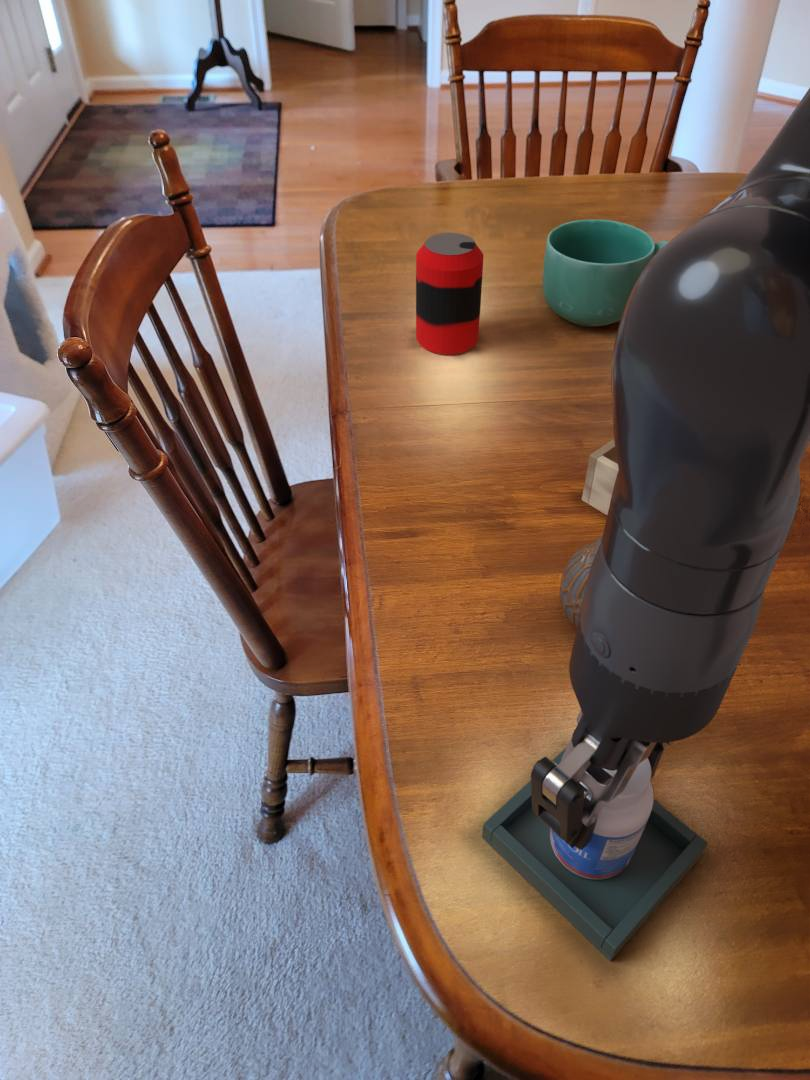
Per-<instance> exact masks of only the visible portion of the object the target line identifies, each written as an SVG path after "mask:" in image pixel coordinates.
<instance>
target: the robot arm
mask: <svg viewBox="0 0 810 1080" xmlns="http://www.w3.org/2000/svg"><path fill="white" fill-rule="evenodd" d="M669 241H670V242H668V243H667V244H666V245H665V246H663V247H662V248H661V249H660V250H659V251H658V252H657V253H656V255H655V256H654V257H653V258H652V259H651V260H650V262H649V263H648V264H647V265H646V267H645V268H644V270H643V271H642V273H641V274H640V276H639V278H638V279H637V281H636V283H635V285H634V287H633V289H632V291H631V294H630V296H629V298H628V301H627V303H626V306H625V309H624V311H623V315H622V318H621V321H619V324H618V328H617V332H616V336H615V340H614V345H613V352H612V358H611V368H610V369H611V371H610V372H611V376H610V379H611V380H610V385H611V386H610V387H611V388H610V389H611V403H612V404H611V405H612V423H613V424H612V425H613V439H614V443H615V451H616V457H617V463H618V469H619V471H618V474H617V477H616V481H615V484H614V488H613V493H612V497H611V501H610V506H609V510H608V515H606V519H605V525H604V528H603V532H602V533H603V534H602V535H603V537H602V540H601V544H600V546H599V549H598V551H597V553H596V555H595V557H594V560H593V562H592V565H591V568H590V572H589V575H588V579H587V583H586V588H585V592H584V597H583V602H582V606H581V611H580V616H579V620H578V625H577V628H576V630H575V635H574V640H573V645H572V649H571V654H570V657H569V658H570V659H569V666H568V670H569V671H568V672H569V679H570V683H571V687H572V690H573V693H574V695H575V697H576V700H577V703H578V706H579V707H580V710H579V712H578V715H577V717H576V723H577V724H576V727H575V728H574V731H573V732H572V736H571V738H570V740H569V742H568V744H567V746H566V747H567V748H566V747H565V748H566V750H565V752H564V754H563V756H562V758H561V762H560V763H559V764H557V763H555V762H554V761H552V760H550V758H549V757H547V756H544V757H542V758H540V760H537V761H536V762H535V763H534V765H533V767H532V770H531V772H530V780H531V791H532V811H533V812H534V813H535V814H536V815H537V816H538V817H539V818H541V819H542V820H543V821H544V822H545V823H546V824H547V825H548V826H549V827H551V828H552V830H553V831H554V832H555V833H556V834H557V835H558V836H559V837H560V838H561V839H562V840H564V841H565V842H566V843H567V844H568V845H569V846H570V847H571V848H573V847H574V846H575V847H576V848H578V849H580V850H582V849H583V848H584V847H585V846H586V845H587V844H588V843H589V842H590V841H591V838H592V835H593V831H594V828H595V825H596V822H597V819H598V817H599V813H600V812H601V810H602V808H603V806H604V805H605V803H606V802H610V801H611V800H613V799H614V798H615V797H617V796H618V795H619V794H621V793H622V792H623V790H624V789H625V787H626V785H627V783H628V782H629V780H630V778H631V776H632V775H633V773H634V771H635V769H636V768H637V766H638V764H640V763H641V762H642V761H644V760H645V759H647V758H648V760H649V762H650V765H651V779H650V781H651V780H652V779H653V778H654V776H655V774H656V771H657V768H658V767H659V763H660V762H661V759H662V756H663V753H664V751H665V750H666V749H667V748H668V747H671V746H672V745H673V744H674V743H675V742H678V741H681V740H684V739H687V738H690V737H692V736H694V735H696V734H698V733H699V732H701V731H703V729H705V728H706V727H707V726H708V725H709V724H710V723H711V722H712V721H713V719H714V718H715V716H716V715H717V713H718V711H719V709H720V707H721V704H722V702H723V700H724V698H725V696H726V694H727V691H728V689H729V687H730V684H731V682H732V680H733V677H734V675H735V673H736V671H737V669H738V666H739V665H740V662H741V659H742V657H743V655H744V654H745V653H744V652H745V650H746V648H747V646H748V643H749V641H750V639H751V637H752V635H753V633H754V630H755V627H756V625H757V622H758V619H759V615H760V611H761V607H762V602H763V598H764V595H765V594H764V592H765V590H766V587H767V585H768V583H769V582H768V581H769V579H770V577H771V574H772V573H773V570H774V569H775V568H774V567H775V565H776V564H777V561H778V560H779V559H778V558H779V557H780V554H781V552H782V549H783V548H784V545H785V543H786V541H787V540H788V536H789V534H790V531H791V529H792V526H793V523H794V520H795V517H796V514H797V511H798V506H799V501H800V494H801V490H802V485H801V476H800V475H801V474H800V470H799V467H800V465H801V462H802V460H803V457H804V455H805V452H806V450H807V448H808V447H809V444H810V87H809V88H808V89H807V91H806V92H805V94H804V95H803V96H802V98H801V100H800V101H799V103H798V104H797V105H796V106H795V108H794V110H793V111H792V113H791V114H790V116H789V117H788V119H787V120H786V121H785V123H784V124H783V126H782V128H781V129H780V131H778V133H777V135H776V136H775V138H774V139H773V141H772V142H771V143H770V144H769V145H768V147H767V149H766V150H765V152H764V153H763V154H762V155H761V157H760V158H759V160H758V161H757V162H756V163H755V164H754V166H753V167H752V169H751V170H749V173H747V174H746V176H745V177H744V178H743V179H742V180H741V182H740V183H739V184H738V185H737V187H736V188H734V190H733V191H732V192H731V193H730V194H729V196H727V197H726V198H725V199H724V200H722V201H721V202H720V203H719V204H717V205H716V206H715V207H713V208H712V209H711V210H709V211H708V212H707V213H705V214H704V215H703V216H702V217H700V218H699V219H697V220H696V221H695V222H693V223H692V224H691V225H689V226H688V227H686V228H685V229H684V230H683V231H681V232H680V233H678V234H677V235H675V236H674V237H673V238H672V239H671V240H669ZM603 768H604V769H607V770H611V771H615V770H617V771H616V773H615V775H614V777H613V776H611V775H610V774H609V773H607V772H606V771H605V770H604V769H603ZM580 782H582V783H583V784H584V785H586V786H587V787H588V788H589V789H590V790H591V791H592V794H593V796H592V798H591V800H589V799H588V798H587V796H588V794H589V790H587V789H586V788H585V787H584V786H583V785H581V784H580Z"/></svg>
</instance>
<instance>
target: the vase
mask: <svg viewBox="0 0 810 1080" xmlns="http://www.w3.org/2000/svg"><path fill="white" fill-rule="evenodd" d="M602 537H603V534H601V535H600V536H599V537H598V539H597V540H594V541H592V542H590V543H587V544H584V545H583V546H582V547H580V548H579V549H578V550H577V551H576V552H574V554H573V555H572V556H571V558H569V560H568V561H567V563H566V565H565V567H564V569H563V572H562V574H561V578H560V583H559V599H560V605H561V608H562V611H563V613H564V615H565V617H566V619H567V620H568V622H569V623H570V624H572V626H573V627H574V628H575V629H577V625H578V620H579V616H580V611H581V606H582V602H583V597H584V592H585V588H586V583H587V579H588V575H589V572H590V568H591V565H592V562H593V560H594V557H595V555H596V553H597V551H598V549H599V546H600V544H601V540H602Z"/></svg>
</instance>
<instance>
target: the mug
mask: <svg viewBox="0 0 810 1080" xmlns="http://www.w3.org/2000/svg"><path fill="white" fill-rule="evenodd" d="M670 241H671V240H660V241H658V242H655V240H654V239H653V237H652V236H651V235H650V234H648V232H646V231H644V230H643V229H641V228H638V227H637V226H634V225H631V224H628V223H624V222H620V221H616V220H610V219H597V218H596V219H595V218H594V219H593V218H591V219H578V220H573V221H569V222H564V223H563V224H560V225H558V226H556V227H555V228H553V229H552V230H551V231H550V232H549V233H548V235H547V238H546V244H545V251H544V260H543V270H542V292H543V296H544V299H545V302H546V303H547V305H548V306H549V308H550V309H551V310H552V311H553V312H554V313H555V314H557V315H558V316H559V317H561V318H563V319H564V320H567V321H568V322H570V323H572V324H574V325H577V326H579V327H580V326H581V327H587V328H588V327H589V328H597V327H598V328H599V327H604V326H608V325H611V324H615V323H619V322H620V321H621V318H622V315H623V311H624V309H625V306H626V303H627V301H628V298H629V296H630V294H631V291H632V289H633V287H634V285H635V283H636V281H637V279H638V278H639V276H640V274H641V273H642V271H643V270H644V268H645V267H646V265H647V264H648V263H649V262H650V260H651V259H652V258H653V257H654V256H655V255H656V253H657V252H658V251H659V250H660V249H661V248H662V247H663V246H665V245H666V244H667V243H668V242H670Z"/></svg>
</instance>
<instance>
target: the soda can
mask: <svg viewBox="0 0 810 1080" xmlns="http://www.w3.org/2000/svg"><path fill="white" fill-rule="evenodd" d="M483 270H484V253H483V251H482V250H481V249H480V247H479V246H478V245H477V243H476V241H475V240H474V239H473V238H472V237H471V236H469V235H466V234H463V233H458V232H441V233H436V234H433V235H431V236H429V237H427V238H426V240H425V241H424V243H423V244H422V245H421V246H420V248H419V249H418V250H417V252H416V255H415V338H416V339H415V340H416V341H417V343H418V345H420V346H421V347H422V348H423V349H424V350H426V351H428V352H429V353H433V354H436V355H441V356H442V355H444V356H449V355H452V356H453V355H458V354H462V353H466V352H468V351H470V350H471V349H472V348H474V347H475V345H477V343H478V341H479V336H480V320H481V307H482V306H481V305H482V290H483V289H482V287H483V274H484V273H483Z"/></svg>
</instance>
